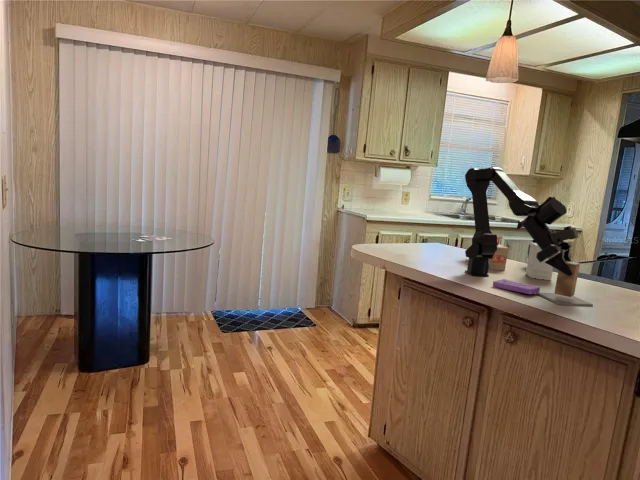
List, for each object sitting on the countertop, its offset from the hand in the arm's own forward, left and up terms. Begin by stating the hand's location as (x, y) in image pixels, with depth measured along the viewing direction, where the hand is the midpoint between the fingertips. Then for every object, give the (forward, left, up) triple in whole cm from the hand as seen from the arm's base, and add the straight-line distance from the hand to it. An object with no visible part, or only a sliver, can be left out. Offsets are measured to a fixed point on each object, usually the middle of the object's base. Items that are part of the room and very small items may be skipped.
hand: (572, 274), depth 134 cm
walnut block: (-1, +1, -7) cm, 7 cm away
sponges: (-11, +10, -8) cm, 17 cm away
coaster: (-1, +1, -8) cm, 9 cm away
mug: (+20, +47, -9) cm, 52 cm away
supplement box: (+11, +31, -9) cm, 34 cm away
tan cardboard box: (+1, +51, -9) cm, 52 cm away
